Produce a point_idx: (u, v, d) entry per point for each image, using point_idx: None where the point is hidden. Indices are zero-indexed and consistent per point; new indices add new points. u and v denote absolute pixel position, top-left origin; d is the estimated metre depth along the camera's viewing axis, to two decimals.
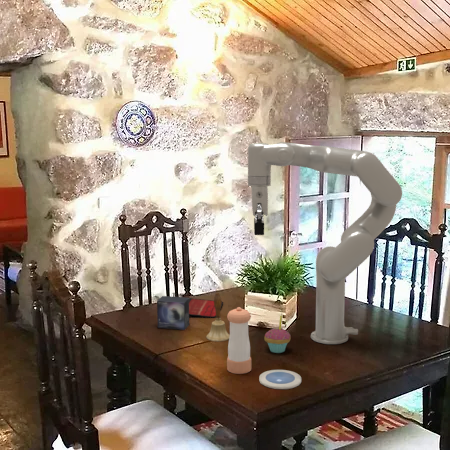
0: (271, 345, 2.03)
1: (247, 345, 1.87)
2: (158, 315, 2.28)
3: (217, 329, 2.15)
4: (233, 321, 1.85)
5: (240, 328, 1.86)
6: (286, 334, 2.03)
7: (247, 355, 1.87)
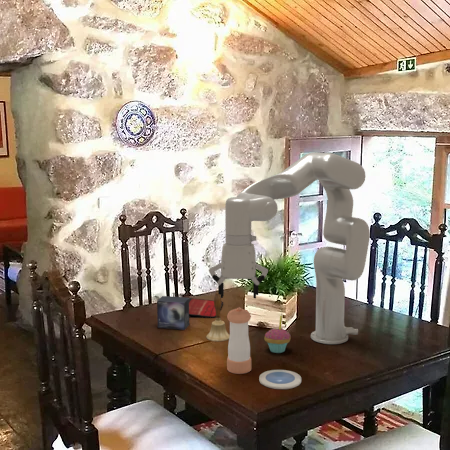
0: (271, 345, 2.03)
1: (247, 345, 1.87)
2: (158, 315, 2.28)
3: (217, 329, 2.15)
4: (233, 321, 1.85)
5: (240, 328, 1.86)
6: (286, 334, 2.03)
7: (247, 355, 1.87)
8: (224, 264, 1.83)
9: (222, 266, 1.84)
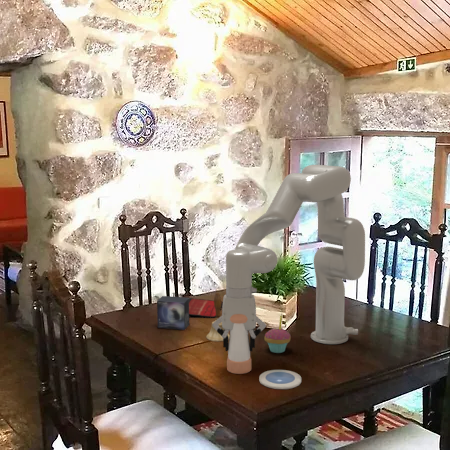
0: (271, 345, 2.03)
1: (247, 345, 1.87)
2: (158, 315, 2.28)
3: None
4: (233, 321, 1.85)
5: (240, 328, 1.85)
6: (286, 334, 2.03)
7: (247, 355, 1.87)
8: (225, 316, 1.86)
9: (223, 318, 1.86)
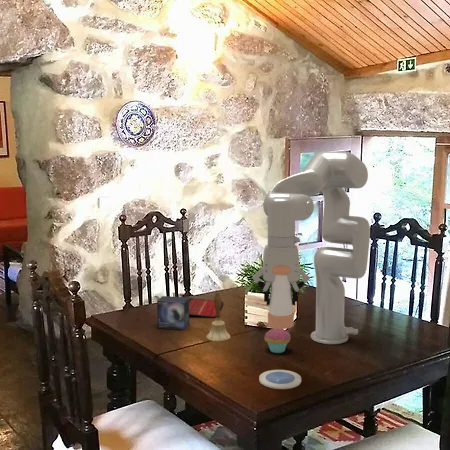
0: (271, 345, 2.03)
1: (290, 298, 1.76)
2: (158, 315, 2.28)
3: (217, 329, 2.15)
4: (275, 272, 1.74)
5: (283, 280, 1.74)
6: (286, 334, 2.03)
7: (290, 309, 1.76)
8: (266, 267, 1.74)
9: (264, 269, 1.75)
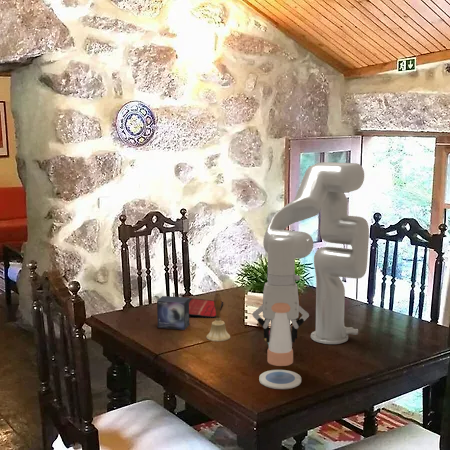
0: None
1: (289, 336, 1.78)
2: (158, 315, 2.28)
3: (217, 329, 2.15)
4: (275, 310, 1.75)
5: (282, 318, 1.76)
6: None
7: (289, 346, 1.78)
8: (266, 305, 1.76)
9: (264, 307, 1.76)
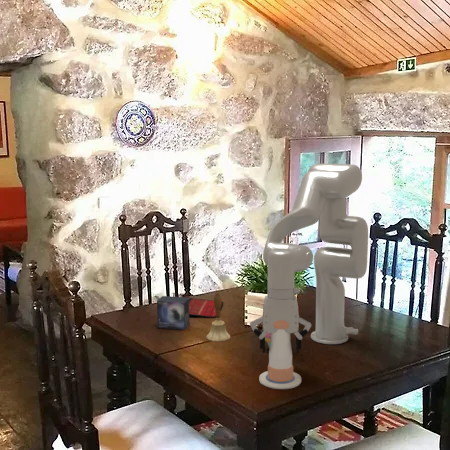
0: None
1: (289, 352, 1.79)
2: (158, 315, 2.28)
3: (217, 329, 2.15)
4: (275, 326, 1.77)
5: (282, 334, 1.77)
6: None
7: (289, 362, 1.79)
8: (266, 318, 1.77)
9: (264, 320, 1.77)
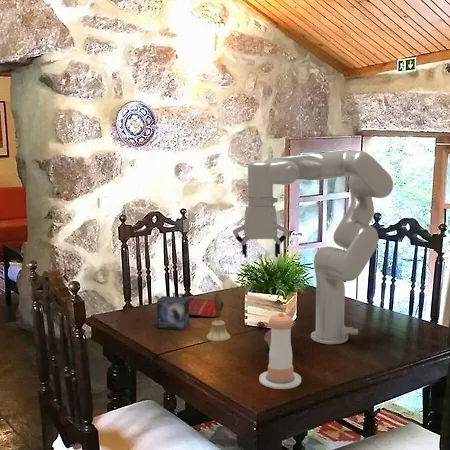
0: None
1: (290, 352, 1.79)
2: (158, 315, 2.28)
3: (217, 329, 2.15)
4: (275, 327, 1.76)
5: (283, 334, 1.77)
6: None
7: (289, 363, 1.79)
8: (248, 225, 1.94)
9: (246, 227, 1.94)
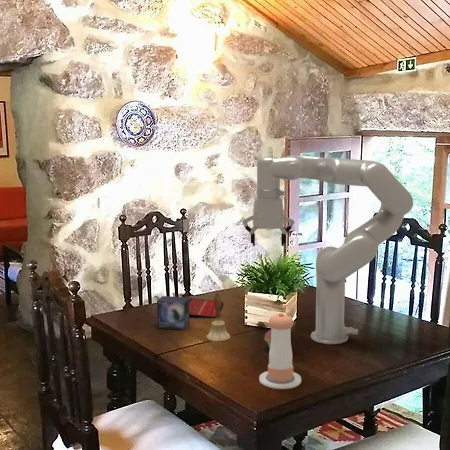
0: None
1: (290, 352, 1.79)
2: (158, 315, 2.28)
3: (217, 329, 2.15)
4: (275, 327, 1.76)
5: (283, 334, 1.77)
6: None
7: (289, 363, 1.79)
8: (256, 216, 2.09)
9: (254, 217, 2.09)
